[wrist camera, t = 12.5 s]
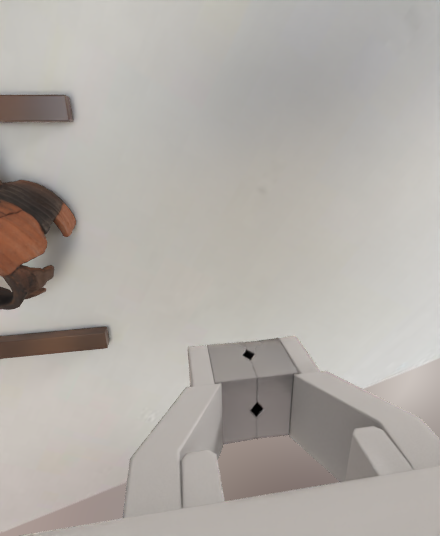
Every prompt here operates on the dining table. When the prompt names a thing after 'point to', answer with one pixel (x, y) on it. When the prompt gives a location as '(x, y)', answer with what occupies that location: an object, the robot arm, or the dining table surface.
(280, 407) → the robot arm
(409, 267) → the dining table surface
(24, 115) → the frame
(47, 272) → the broken brown mug
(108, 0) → the dining table surface
